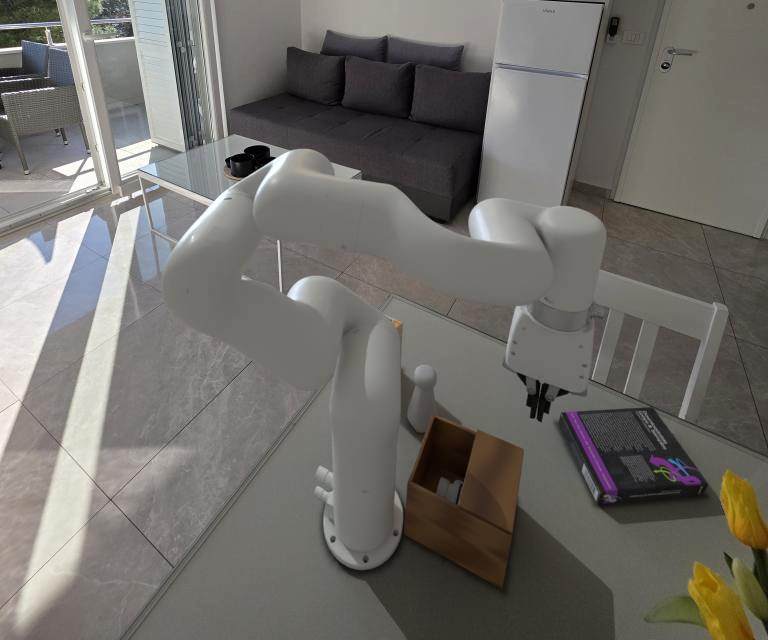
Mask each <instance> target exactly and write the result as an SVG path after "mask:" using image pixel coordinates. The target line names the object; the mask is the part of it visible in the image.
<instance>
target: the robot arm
mask: <svg viewBox="0 0 768 640" xmlns="http://www.w3.org/2000/svg"><path fill="white" fill-rule="evenodd" d="M467 221H468V222H467V223H468V230H469V231H468V233H469V235H470V236H466V235H463V234H460V233H457V232H455V231H452V230H450V229H447V228H445V227H444V226H441V225H440V224H438V223H437V222H436V221H434V220H432V219H431V218H430V217H429V216H427V215H426V214H425V213H423V211H421V210H420V208H419V207H418V206H417V205H416V204H415V203H414V202H413V201H412V200H411V199H410V198H409V197H408V196H407V195H406V194H405V193H404V192H403V191H402V190H400V189H399V188H398V187H396V186H394V185H392V184H389V183H384V182H383V183H381V182H375V181H370V180H363V179H356V178H351V177H344V176H338V175H336V173H335V169H334V166H333V164H332V163H331V161H330V159H329V158H328V157H326V156H325V154H323V153H321V152H319V151H317V150H314V149H311V148H296V149H292V150H288V151H287V152H284V153H282V154H281V155H279V156H278V157H276V158H275V159H273V160H271V161H270V162H268V163H266V164H265V165H264V166H262V167H260V168H258V169H257V170H255V171H254V172H253V173H251V174H249V175H248V176H246V177H244V178H242V179H241V180H240V181H238V182H236V183H235V184H233V185H231V186H230V187H228V188H227V189H226V190H224V191H223V192H222V193H221V194H220V195H218V196H217V198H216V199H214V201H213V202H211V203H210V205H209V206H208V207H207V208H206V210H205V211H203V213H202V214H201V215H200V216H199V217H198V218H197V219H196V220H195V221H194V222H193V224H192V225H191V226H189V228H188V229H187V230H186V232H184V234H183V235H182V237H180V239H179V240H178V242H177V243H176V245H175V246H174V248H173V249H172V250H171V252H170V253H169V256H168V257H167V259H166V262H165V264H164V267H163V270H162V274H161V279H160V289H161V294H162V298H163V301H164V303H165V305H166V307H167V309H168V310H169V311H170V313H171V314H172V315H173V316H174V317H175V318H176V319H177V320H178V321H179V322H181V323H182V324H183V325H185V326H186V327H188V328H190V329H192V330H194V331H196V332H197V333H198V332H199V333H201V334H204V335H206V336H209V337H211V338H214V339H216V340H218V341H220V342H222V343H225V344H227V345H228V346H230V347H231V348H233V349H235V350H236V351H237V352H239V353H241V354H242V355H243V356H245V358H248V359H249V360H250V361H252V362H253V363H255V364H257V365H258V366H260V367H261V368H263V369H264V370H266V371H267V372H269V373H270V374H272V375H274V376H275V377H277V378H278V379H279V380H281V381H283V382H285V383H286V384H288V385H290V386H292V387H293V388H295V389H298V390H301V391H303V392H314V391H317V390H319V389H321V388H324V386H325V385H326V384H327V383H328V382H329V381H330V380H331V377H332V375H333V378H332V379H333V380H332V385H331V389H330V397H329V406H328V421H329V427H330V430H331V431H330V432H331V455H332V471H330V470H329V469H328V468H325V467H324V466H322V465H319V466H318V468H317V469H316V472H315V475H314V479H315V481H318V482H319V483H321V484H323V485H326V486H328V487H330V491H329V492H328V491H327V490H325V489H324V488H322V487H321V486H319V485H316V487H315V489H314V490H313V497H314V498H316V499H318V500H320V501H322V502H324V511H323V521H322V522H323V523H322V524H323V534H324V538H325V542H326V544H327V547H328V549H329V551H330V552H331V554H332V555H333V556H334V558H335V559H336V560H337V561H338V562H340V564H342V565H344V566H345V567H347V568H350V569H353V570H357V571H366V570H373V569H375V568H377V567H379V566H381V565H383V564H384V563H385V562H387V561H388V560H389V559H390V558H391V556H392V555H393V554H394V552H395V551H396V549H397V548H398V546H399V543H400V541H401V538H402V534H403V531H404V509H403V504H402V501H401V498H400V495H399V493H398V492H397V490H396V480H397V478H396V477H397V476H396V475H397V460H398V440H399V431H400V423H401V414H402V413H401V411H402V389H401V388H402V371H401V370H402V368H401V369H400V338H399V334H398V331H397V329H396V327H395V325H394V324H393V323H392V321H391V320H390V319H389V318H388V317H386V316H385V315H386V314H384V313H383V312H381V310H379V309H378V308H376V307H375V306H373V305H372V304H371V303H369V302H368V301H366V300H365V299H364V298H362V296H359V295H358V294H357V293H356V292H354V291H353V290H351V289H350V288H349V287H347V286H346V285H345V284H343V283H341V282H340V281H338V280H336V279H334V278H332V277H328V276H324V275H310V276H309V275H308V276H306V277H303V278H301V279H299V280H297V282H295V283H294V284H293V285H292V286H291V288H290V289H289V291H288V292H287V294H285V293H283V292H282V291H281V290H280V289H278V288H277V287H276V286H274V285H271V284H269V283H267V282H265V281H261V280H256V279H255V280H254V279H243V275H244V272H245V271H246V269H247V267H248V265H249V263H250V262H251V261H252V258H253V257H254V255H255V253H256V252H257V250H258V248H259V246H260V245H261V243H262V242H263V241H262V240H263V239H264V237H265V236H266V237H269V238H271V239H272V240H275V241H280V242H284V243H289V244H296V245H303V246H309V247H316V248H323V249H328V250H334V251H335V250H336V251H342V252H349V253H354V254H360V255H365V256H371V257H377V258H381V259H383V260H385V261H387V262H389V264H391V265H392V266H394V267H395V268H396V269H397V270H399V271H400V272H402V274H405V275H406V276H407V277H409V278H411V279H412V280H414V281H416V282H418V283H419V284H421V285H423V286H424V287H427V288H428V289H430V290H432V291H434V292H436V293H438V294H440V295H443V296H445V297H448V298H451V299H454V300H457V301H462V302H468V303H475V304H482V305H488V306H495V307H515V308H514V312H513V315H512V320H511V325H510V329H509V333H508V338H507V344H506V351H505V354H504V356H503V358H502V363H501V365H502V367H503V368H504V369H506V370H507V371H509V372H511V373H512V374H515V375H517V377H518V378H519V380H520V381H521V382H522V384H523V385H524V386H525V387H526V390H525V391H526V392H527V396H526V402H525V406H526V407H528V408H530V412H529V419H532V420H534V419H535V420H537V421H538V422H539V423H543V419H544V414H546V415H549V414H550V410H551V405H552V403H553V402H555V400H556V399H557V398H559V397H563V396H565V395H569V394H570V395H573V396H579V397H587V396H588V384H589V379H590V373H591V370H592V369H591V368H592V360H593V354H594V353H593V352H594V342H595V341H594V340H595V319H596V318H597V319H598V318H599V319H602V320H603V319H604V317H605V307H604V306H600V305H599V304H597V303H595V302H596V301H595V300H594V297H595V293H596V288H597V283H598V280H599V279H598V278H599V275H600V270H601V266H602V262H603V257H604V252H605V249H606V248H605V247H606V243H607V237H608V236H607V230H606V229H607V228H606V227H605V224H604V222H603V221H602V220H601V219H600V218H598V216H596V215H595V214H593V213H591V212H590V211H587V210H586V209H585V210H584V209H582V208H579V207H575V206H568V205H556V206H550V207H548V206H543V205H542V206H541V205H537V204H534V203H533V204H532V203H528V202H524V201H519V200H515V199H510V198H504V197H492V198H487V199H483V200H482V201H480V202H478V203H477V204H475V206H474V207H473V208H472V209H471V211H470V213H469V215H468V220H467ZM541 382H542V383H541Z"/></svg>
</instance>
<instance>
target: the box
mask: <svg viewBox="0 0 768 640" xmlns="http://www.w3.org/2000/svg"><path fill="white" fill-rule="evenodd" d="M558 426H559V428H560V430H561V432H562V434H563V437H564V438H565V440H566V443H567V445H568V447H569V449H570V451H571V453H572V455H573V457H574V460H575V461H576V463H577V466H578V467H579V468H578V469H579V470H580V471H581V474H582V475H583V477H584V480H585V482H586V484H587V486H588V488H589V490H590V493H591V495H592V497H593V499H594V501H595V504H596V505H606V504H616V503H624V502H626V503H627V502H639V501H648V500H661V499H670V498H681V497H692V496H704V495H705V494H706V492H707V489H708V486H709V485H710V484H709V482H708V481H707V479H706V478H705V477H704V476H703V474H702V472H700V470H699V469H698V467H697V466H696V464H695V463H694V462H693V461H692V459H691V457H690V456H689V455H688V453H687V452H686V450H684V448H683V447H682V445H681V444H680V442H679V441H678V440H677V439H676V437H675V435H674V434H673V433H672V431H671V430H670V429H669V427H668V426H667V424H666V423H665V422H664V420H663V419H662V417H660V415H659V414H658V413H657V410H656V409H655V407H653V406H646V407H628V408H613V409H612V408H611V409H591V410H580V411H579V410H578V411H577V410H576V411H563V412H562V411H561V412H560V414H559V419H558Z"/></svg>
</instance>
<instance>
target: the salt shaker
mask: <svg viewBox="0 0 768 640" xmlns="http://www.w3.org/2000/svg"><path fill="white" fill-rule="evenodd" d="M413 382H414V384H415V387H414V389H413V391H412V395H411V398H410V401H409V403H408V407H407V411H406V413H407V414H406V416H407V419H408V421H409V423H410V426H412V428H413V429H414V431H415V432H416V433H419V434H420V433H421V434H426V431H427V428H428V425H429V423H430V420H431V417H432V414H436V415H438V410H437V402H436V396H435V389H434V388H435V386H436V385H437V383H438V375H437V371H436V369H435V368H434V367H432V366H431V365H428V364H420V365H419V366H416V368H415V369H414V372H413Z"/></svg>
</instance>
